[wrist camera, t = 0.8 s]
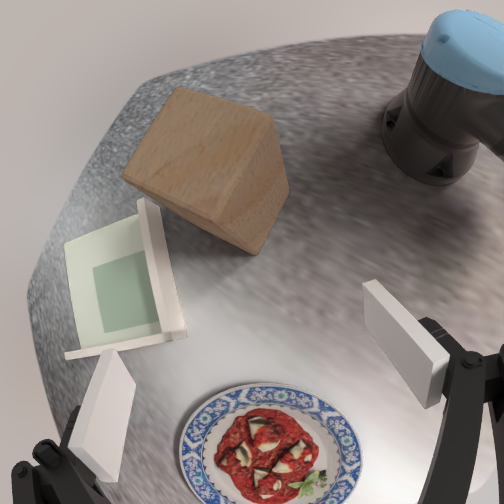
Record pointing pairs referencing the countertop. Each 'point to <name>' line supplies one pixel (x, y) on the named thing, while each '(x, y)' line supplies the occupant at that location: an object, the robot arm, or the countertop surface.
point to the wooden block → (213, 167)
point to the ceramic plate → (270, 448)
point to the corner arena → (123, 285)
